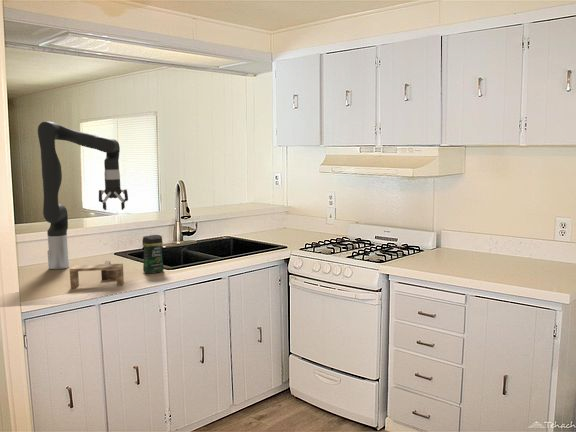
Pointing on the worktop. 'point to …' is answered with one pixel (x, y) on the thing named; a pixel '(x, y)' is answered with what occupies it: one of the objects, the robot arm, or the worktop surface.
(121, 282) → the shelf
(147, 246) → the coffee jar
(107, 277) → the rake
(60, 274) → the worktop surface
